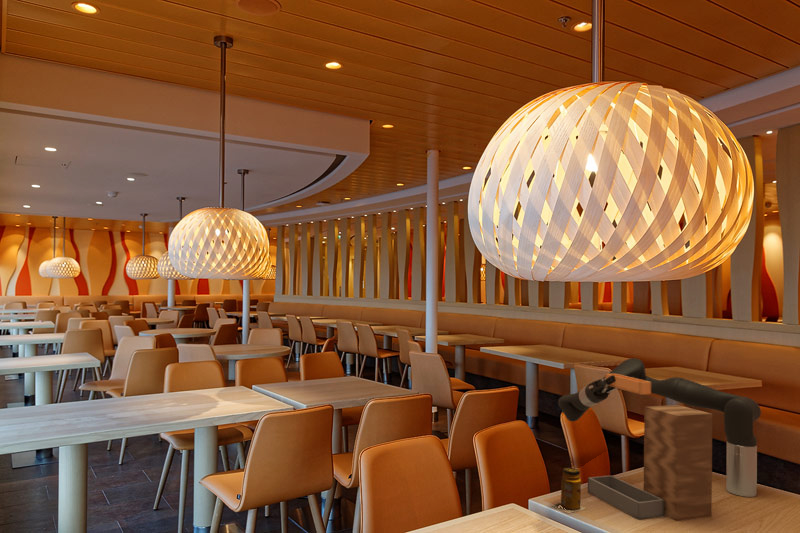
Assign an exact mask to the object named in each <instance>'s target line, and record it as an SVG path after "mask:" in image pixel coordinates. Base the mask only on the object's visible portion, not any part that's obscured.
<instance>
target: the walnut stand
mask: <svg viewBox="0 0 800 533" xmlns="http://www.w3.org/2000/svg"><path fill="white" fill-rule="evenodd" d="M643 420H644V423H643V426H644V428H643V429H644V430H643V431H644V432H643V439H644V440H643V490H644V491H646V492H648V493H650V494H653V495H655V496H657V497H659V498H661V499H663V500H665V501H664V516H665V517H668V518H669V519H672V520H674V521H676V522H679V521H680V522H681V521H686V520H692V519H693V520H695V519H699V518H702V519H703V518H706V517H707V518H708V517H712V512H713V511H712V504H713V502H712V501H713V499H712V498H713V496H712V494H713V493H712V492H713V491H712V489H713V485H712V484H713V472H712V471H713V413H712V412H711V413H710V412H707V411H703V410H699V409H696V408H690V407H688V406H684V405H679V404H671V405H670V404H667V405H650V406H649V405H648V406H644V419H643Z"/></svg>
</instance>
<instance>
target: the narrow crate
mask: <svg viewBox="0 0 800 533" xmlns="http://www.w3.org/2000/svg"><path fill="white" fill-rule="evenodd" d="M612 375H614V376H615V379H616V381H615V382H613V383H612V384H610V385H609V386H611V387H614V388H618V389H621V390H623V391H627V392H628V393H632V394H633V393H634V394H637V395H652V393H651V382H649V381H645V380H641V379H636V378H632V377H628V376H623V375H619V374H609V373H605V374H604V377H605V379H607V378H609V377H610V376H612ZM618 389H617V390H618Z"/></svg>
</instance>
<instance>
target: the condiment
mask: <svg viewBox="0 0 800 533" xmlns="http://www.w3.org/2000/svg"><path fill="white" fill-rule="evenodd" d="M580 476H581V471H580V470H579V469H578V468H575V467H564V468H563V469H562V476H561V479H560V480H561V482H560V483H561V484H560V485H561V487H560V490H561V492H560V502H558V503H555V504H554V503H553V504H551V505H550V506H551V507H553V508H555V509H557V510H559V511H563V513H564V512H565V513H567V514H570V513H575V512H579V511H583V510H586V509H587V508H586V507H584V506H582V505H581V494H582V492H581V491H582V480H581V477H580ZM559 505H561V506H562V507H563V509H562V508H561V507H560V508H558V506H559ZM564 508H565V509H566V510H565V509H564ZM569 510H570V511H569Z"/></svg>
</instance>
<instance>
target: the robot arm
mask: <svg viewBox="0 0 800 533" xmlns="http://www.w3.org/2000/svg"><path fill="white" fill-rule="evenodd" d="M608 374H619V375H623V376H628V377H632V378H636V379H641V380H645V381H649V382H651V394H654V395H658V396H660V397H662V398H663V397H664V398H667V399H669V400H672V401H676V402H677V403H681V404H683V405H686V406H690V407H694V408H695V407H696V408H700V409H708V410H713V411H717V412H721V413H723V418H724V421H723V422H724V433H725V434H724V435H725V436H726V437H725V438H726V481H725V482H726V486H725V487H726V488H725V489H726V491H727V492H728V493H730V494H733V495H737V496H741V497H747V498H748V497H749V498H750V497H753V498H754V497H757V491H758V490H757V482H758V479H757V478H758V477H757V476H758V468H757V467H758V463H757V462H758V444H757V443H758V439H757V437H756V436H755V435H754V423H755V422H756V421H757V420H758V419H760V417H761V415H762V410H761V407H760V405H759V404H758V403H757V402H756V401H755V400H754V399H752V398H749V397H747V396H741V395H737V394H733V393H732V394H731V393H728V392H724V391H720V390H717V389H715V388H713V387H709V386H707V385H705V384H701V383H698V382H696V381H693V380H689V379H687V378H683V377H676V376H675V377H669V378H665V379H662V380H661V379H656V378H653V377H650V376H647V374H646V368H645V364H644V362H643V361H642V360H641V359H639V358H635V357H634V358H633V357H632V358H628V359H625V360H624V361H622V362H621V363H620V364H618V365H617V366H616V367H615V368H613V369H612V370H611V371H610V372H609V373H608ZM615 381H616V379H615V376H614V375H612V376H610V377H609V378H607V379H605V376H603V377H602V378H601V379H600V378H599V379H598V380H594V381H592V382H591V383H589V384H587V385H586V386H584V387H583V388H582V389H581V390H579V391H577V392H575V393H568V394H564V395H562V396H560V398H559V399H558V402H557V403H558V406H559V408H560V409H561V411H562V413H563V414H564V416H565V418H566V419H567V420H568V421H569V422H576V421H578V420H580V418H582V417H583V415H584V414H585V413H586V412H587V411H588V410H589V409H591V408H592V407H593V406H596V405H598V404H600V403H601V402H603V401H605V400H607V398H608V397H609V395H610V394H611V393H612V392H613V391H615V390H617V391H621V390H622V389H618V388H614V387H611V386H609V385H610V384H612V383H613V382H615Z"/></svg>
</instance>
